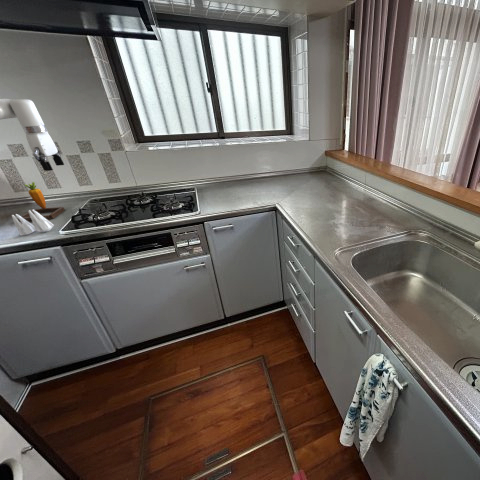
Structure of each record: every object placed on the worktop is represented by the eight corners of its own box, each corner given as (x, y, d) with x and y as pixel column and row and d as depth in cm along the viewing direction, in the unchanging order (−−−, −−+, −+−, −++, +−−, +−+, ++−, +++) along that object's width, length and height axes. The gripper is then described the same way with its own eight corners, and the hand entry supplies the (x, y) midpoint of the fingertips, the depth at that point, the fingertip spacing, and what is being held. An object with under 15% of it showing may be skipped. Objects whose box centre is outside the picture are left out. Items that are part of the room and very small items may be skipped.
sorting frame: (18, 222, 133) (16, 219, 132) (34, 212, 144) (32, 209, 143) (52, 219, 136) (50, 215, 135) (65, 209, 147) (63, 206, 146)
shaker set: (56, 228, 128) (44, 206, 122) (51, 232, 124) (39, 210, 119) (25, 232, 125) (11, 210, 119) (19, 236, 121) (5, 214, 116)
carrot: (36, 211, 145) (20, 184, 138) (41, 207, 149) (26, 181, 142) (47, 210, 147) (32, 183, 139) (52, 206, 151) (38, 180, 143)
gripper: (37, 127, 127) (55, 163, 136) (11, 133, 113) (34, 173, 121) (56, 127, 129) (73, 162, 137) (33, 132, 114) (53, 172, 123)
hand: (54, 167), depth 129 cm, fingers open, 9 cm apart
